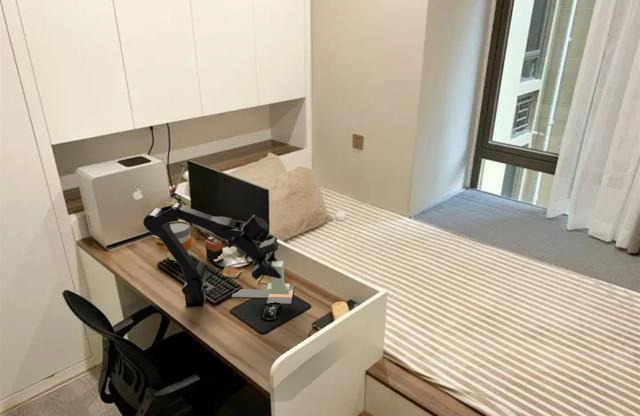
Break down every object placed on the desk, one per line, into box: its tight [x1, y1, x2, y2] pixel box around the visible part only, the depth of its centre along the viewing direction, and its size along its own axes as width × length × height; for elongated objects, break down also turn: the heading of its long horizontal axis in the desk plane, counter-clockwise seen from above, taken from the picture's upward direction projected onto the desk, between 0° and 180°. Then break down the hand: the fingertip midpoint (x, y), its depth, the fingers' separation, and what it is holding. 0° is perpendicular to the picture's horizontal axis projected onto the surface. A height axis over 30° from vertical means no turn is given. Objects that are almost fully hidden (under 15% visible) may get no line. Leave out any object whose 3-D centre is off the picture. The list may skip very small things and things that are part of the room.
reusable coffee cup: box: [162, 220, 192, 261], centre depth 195 cm, size 13×13×15 cm
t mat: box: [231, 284, 295, 305], centre depth 171 cm, size 23×12×1 cm, turn 87°
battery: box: [204, 236, 224, 262], centre depth 195 cm, size 4×7×10 cm, turn 49°
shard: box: [221, 266, 242, 279], centre depth 187 cm, size 11×8×2 cm
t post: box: [265, 260, 291, 295], centre depth 162 cm, size 8×4×12 cm, turn 86°
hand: (281, 274), depth 161 cm, fingers closed on t post, 4 cm apart
